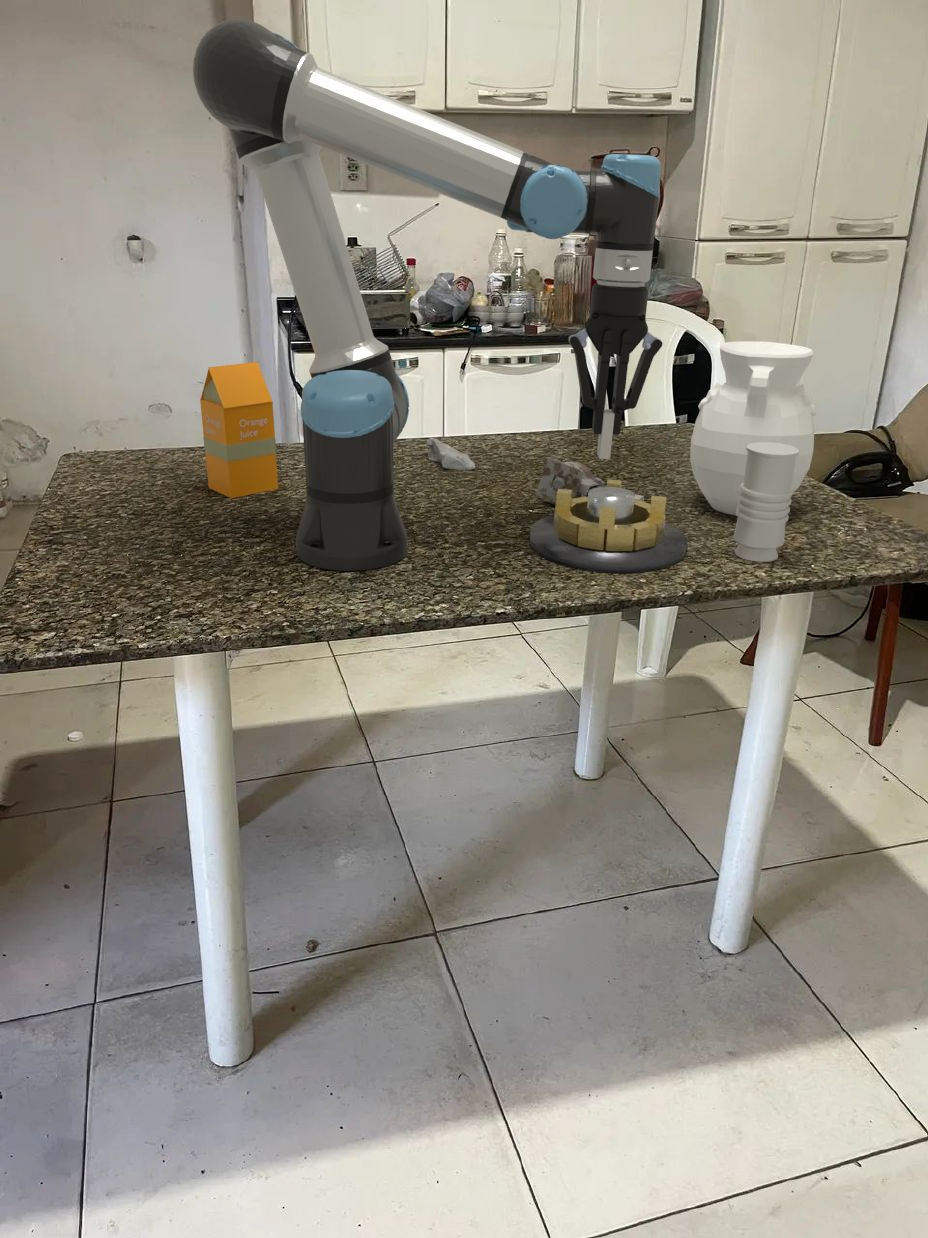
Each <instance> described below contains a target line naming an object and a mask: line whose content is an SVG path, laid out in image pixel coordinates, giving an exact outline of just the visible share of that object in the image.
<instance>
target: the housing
mask: <svg viewBox="0 0 928 1238" xmlns="http://www.w3.org/2000/svg"><path fill="white" fill-rule="evenodd" d="M634 499H635V500H638V501H643V502H645V501H644V499H645V495H641V494H635V493H634V492H633V491H632V490H629V489H626V488H622V487H621V488H617V487H598V488H593V489H591V490H589V491H588V503H587V516H586V521H587V522H593V523H599V518H600V509H601V506H606V507H616V516H615V525H630V524H632V518H633V508H634ZM554 515H555V513H553V514H550V515H548V516H545V517H543V518H541V519H538V520H537V521H536V522H534V523H533V524H532V525H531V527H530V530H529V531H530V532H529V545H530V547H531V548H532V550H533V551H534V553H536V554H538V555H539V556H540V557H543V558H544V559H547V560H548V561H550V562H553V563H556V564H559V565H562V566H565V567H570V568H573V569H578V570H583V571H589V572H590V571H591V572H598V573H608V574H610V573H611V574H632V573H634V574H636V573H645V572H651V571H658V570H661V569H665V568H668V567H672V566H673V565H675V564H677V562H678V563H679V562H680V561H682V560H683V559H684V558H685V556H686V554H687V545H688V539H687V535H685V533H684V532H683V531H682V530H680V529H679V528H677V527H676V526H675V525H672V524H670V523H669V522H666V521H665V528H664V537H663V538H662V540H661V541H660V542H659V543H658V544H657V545H655V546H652V547H648V548H644V549H640V550H633V549H632V551H606V550H605V549H604V550H603V551H602V550H596V549H590V548H585V547H579V546H578V545H573V544H571V543H569V542H567V541H564V540H562V539H560V538H559V537H557V535H556V532H555V530H554Z"/></svg>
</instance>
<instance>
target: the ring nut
mask: <svg viewBox="0 0 928 1238" xmlns="http://www.w3.org/2000/svg"><path fill="white" fill-rule="evenodd" d="M606 481H607V486H606V487H617V488H622V480H619V479H616V480H615V479H607V480H606ZM650 498H651V499H650V503H648V502H645V501H644V502H643V501H638V500H635V499H634V508H633V518H632V524H630V525H615V516H616V507H606V506H601V509H600V518H599V523H593V522H587V521H586V516H587V503H588V497H579V498H574V499H572V490H567V489H558V491H557V496H556V505H555V507H554V514H555V515H554V514H553V515H554V530H555V532H556V535H557V537H559V538H560V539H562V540H564V541H567V542H569V543H571V544H573V545H578V546H579V547H585V548H590V549H596V550H602V551H603V550H604V549H605V550H606V551H632V549H633V550H640V549H644V548H648V547H652V546H655V545H657V544H658V543H659V542H660V541H661V540H662V538H663V537H664V528H665V522H666V520H667V519H666V517H667V516H666V514H665V513H666V505H667V496H661V495H660V496H657V495H651V497H650Z"/></svg>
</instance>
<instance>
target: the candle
mask: <svg viewBox="0 0 928 1238" xmlns="http://www.w3.org/2000/svg"><path fill="white" fill-rule="evenodd" d="M746 450H747V451H748V454H747V461H746V468H745V474H744V481H743V483H742V484H741V485H740V488H739V495H738V502H737V509H736V515H735V516H736V517H737V521H736V525H735V527H734V528H735V529H734V532H733V533H734V534H733V540H734V541H735V542H736V543H738V544H737V547H736V548H735V550H734V554H735V556H737V557H739V558H741V559H743V560H747V561H752V562H758V563H759V562H762V563H763V562H774V561H776V560H778V558H779V555H778V551H777V548H780V547H782V546H783V545H784V544H785V532H786V523H787V522H788V521H789V513H790V511H791V510H790V506H791V504H792V498H791V497H792V496H793V491H792V489H791V485H792V479H793V473H794V467H795V461H796V456H797V455H798V454H799V449H797V448H796V447H793V446H790V445H786V444H781V443H772V442H756V443H751V444H748V445H747V447H746Z"/></svg>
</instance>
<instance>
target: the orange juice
mask: <svg viewBox="0 0 928 1238" xmlns="http://www.w3.org/2000/svg"><path fill="white" fill-rule="evenodd" d="M207 368H208V369H207V373H206V377H205V382H204V385H203V389H202V392H201V395H200V400H199V401H200V410H201V411H200V412H201V422H202V424H201V425H202V433H203V437H202V439H203V444H204V445H203V447H204V454H205V464H206V474H207V484H208V489H211V490H213V491H215V492H217V493H219V494H221V495H223V496H225V497H228V498H230V499H234V498H239V497H244V496H250V495H253V494H254V495H255V494H260V493H262V492H263V493H264V492H269V491H275V490H278V489H279V480H278V477H279V476H278V464H277V444H276V437H275V435H276V434H275V432H276V431H275V418H274V405H273V399H272V397H271V394H270V391H269V389H268V385H267V383H266V381H265V378H264V376H263V373H262V371H261V368H260V365H259V362H258V361H254V362H246V363H236V364H234V363H233V364H228V365H227V364H225V365H219V366H218V365H217V366H209V367H207Z"/></svg>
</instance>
